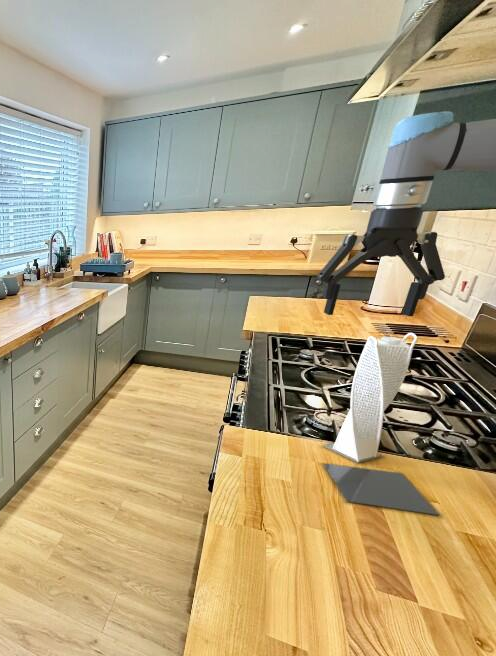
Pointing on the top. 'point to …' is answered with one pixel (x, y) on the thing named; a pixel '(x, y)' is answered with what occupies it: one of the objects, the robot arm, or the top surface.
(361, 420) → the skyscraper
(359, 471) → the slate pad
